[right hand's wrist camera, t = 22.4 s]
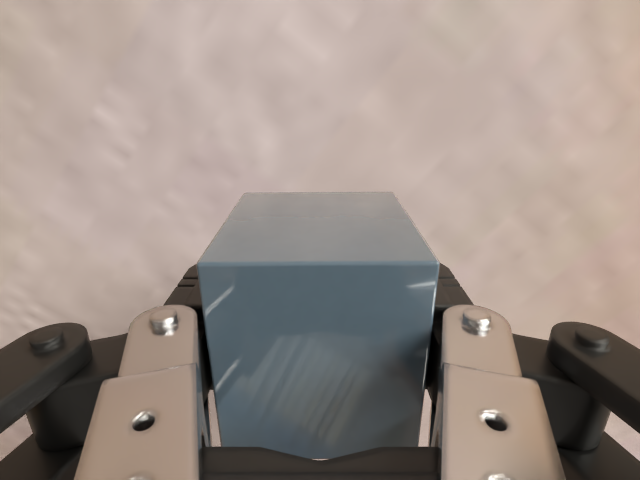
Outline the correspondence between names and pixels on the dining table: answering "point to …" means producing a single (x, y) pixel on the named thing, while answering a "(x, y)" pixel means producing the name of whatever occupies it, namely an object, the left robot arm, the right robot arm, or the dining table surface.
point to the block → (318, 322)
